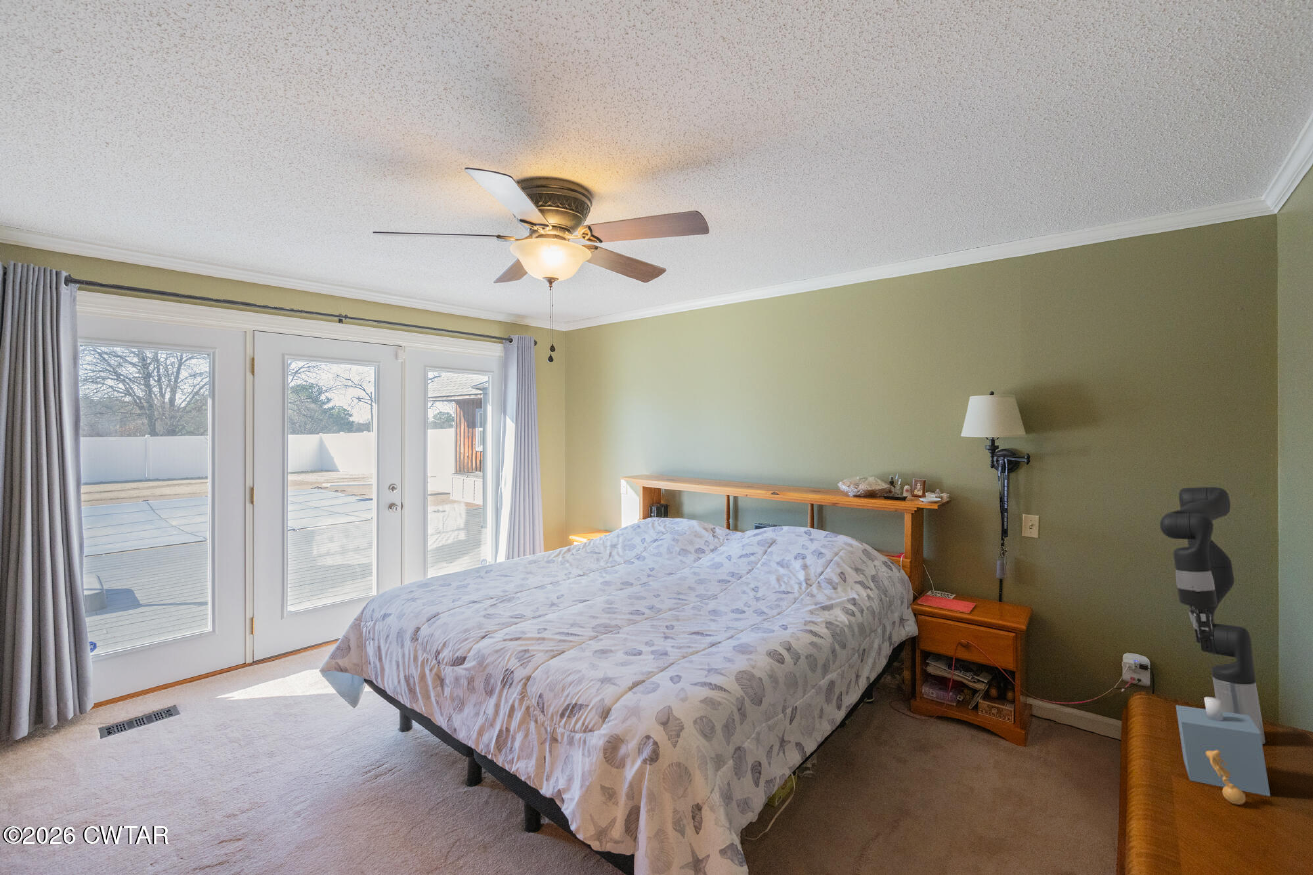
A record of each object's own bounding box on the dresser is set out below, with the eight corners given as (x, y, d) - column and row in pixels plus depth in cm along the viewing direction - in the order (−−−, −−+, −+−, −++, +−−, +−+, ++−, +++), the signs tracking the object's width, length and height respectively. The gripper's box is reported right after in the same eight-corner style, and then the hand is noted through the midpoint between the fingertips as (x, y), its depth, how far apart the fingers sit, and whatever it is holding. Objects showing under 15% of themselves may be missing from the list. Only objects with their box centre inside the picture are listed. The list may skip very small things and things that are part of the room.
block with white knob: (1183, 759, 157) (1173, 687, 159) (1258, 773, 148) (1246, 696, 150) (1189, 780, 147) (1178, 702, 149) (1270, 796, 138) (1257, 713, 140)
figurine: (1244, 813, 132) (1236, 761, 133) (1209, 803, 137) (1201, 752, 138) (1249, 799, 137) (1241, 749, 138) (1215, 790, 142) (1207, 741, 143)
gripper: (1173, 581, 160) (1182, 638, 158) (1180, 590, 149) (1189, 652, 147) (1210, 582, 155) (1219, 641, 154) (1219, 592, 144) (1229, 656, 143)
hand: (1204, 647), depth 150 cm, fingers open, 8 cm apart
